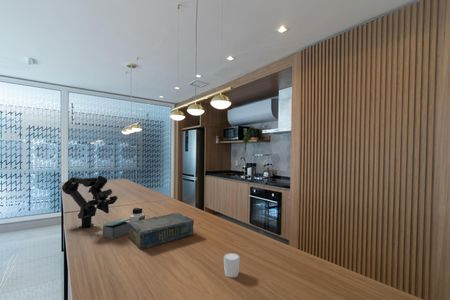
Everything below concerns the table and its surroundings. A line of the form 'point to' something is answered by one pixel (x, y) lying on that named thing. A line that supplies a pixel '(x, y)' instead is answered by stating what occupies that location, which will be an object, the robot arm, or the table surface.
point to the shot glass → (231, 264)
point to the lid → (115, 222)
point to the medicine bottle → (137, 215)
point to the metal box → (160, 230)
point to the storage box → (116, 230)
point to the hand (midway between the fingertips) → (108, 212)
